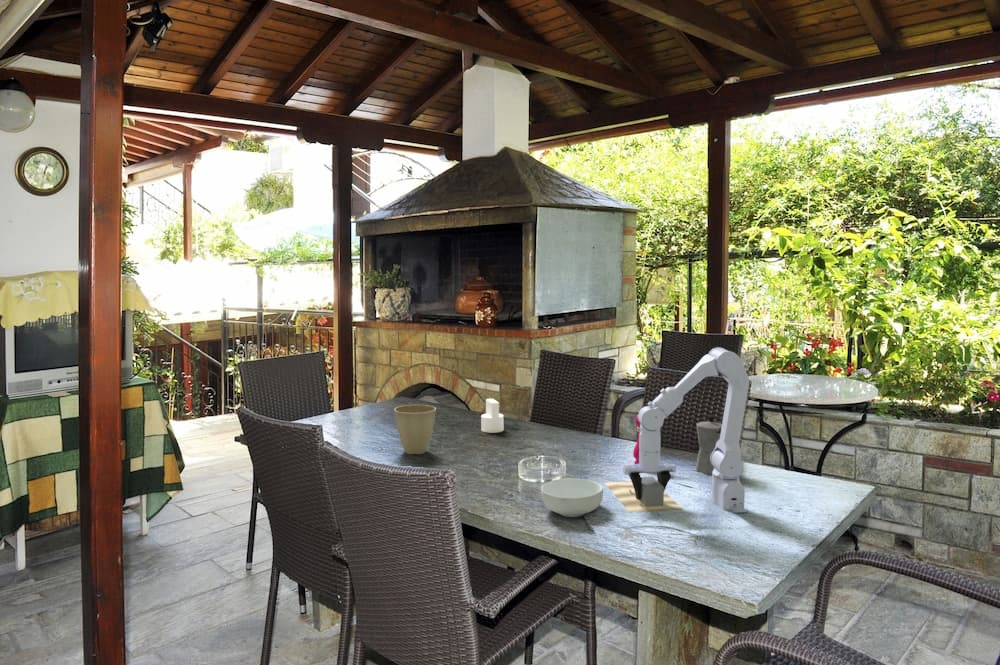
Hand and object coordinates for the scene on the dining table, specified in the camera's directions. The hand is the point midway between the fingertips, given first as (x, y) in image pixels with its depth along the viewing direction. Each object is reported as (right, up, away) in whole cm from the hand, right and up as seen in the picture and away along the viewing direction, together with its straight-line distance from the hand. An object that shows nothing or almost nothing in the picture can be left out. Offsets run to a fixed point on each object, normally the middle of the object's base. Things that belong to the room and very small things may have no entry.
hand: (649, 498), depth 198 cm
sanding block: (0, -1, 0) cm, 1 cm away
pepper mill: (+6, +1, +39) cm, 39 cm away
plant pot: (-72, +3, +59) cm, 93 cm away
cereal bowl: (-22, -3, -3) cm, 22 cm away
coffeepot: (+27, +1, +33) cm, 43 cm away
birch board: (-1, -2, +7) cm, 7 cm away
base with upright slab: (-44, +6, +92) cm, 102 cm away
